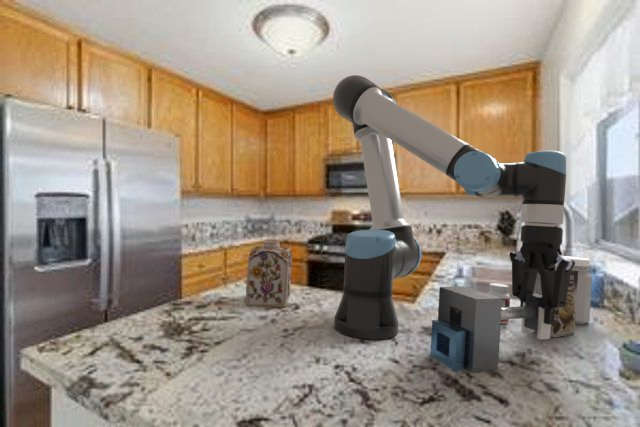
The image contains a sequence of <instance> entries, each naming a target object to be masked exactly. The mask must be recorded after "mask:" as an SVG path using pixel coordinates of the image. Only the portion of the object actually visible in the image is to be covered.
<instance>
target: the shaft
mask: <svg viewBox="0 0 640 427" xmlns="http://www.w3.org/2000/svg"><path fill="white" fill-rule="evenodd" d="M540 305H543V301H542V295H539V294H526V301H525V306H520V305H519V306H510V307H502V308H501V320H507V319H509V320H518V319H519V320H520V319H521V320H522V318H525V319H524V327H527V328H530V329H532V330H535V331H534V332H536V331H538V315H539V307H540Z"/></svg>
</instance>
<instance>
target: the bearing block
mask: <svg viewBox="0 0 640 427" xmlns="http://www.w3.org/2000/svg"><path fill="white" fill-rule="evenodd" d="M487 293H488V292H483V291H480V290H477V289H474V288H470V287H467V286H462V285H460V286H459V285H458V286H456V285H455V286H440V287H439V292H438V294H439V295H438V310H437V312H438V313H437V320H442V321H445V322H447V323H449V324H451V325H453V326H455V327H457V328H459V329H462V330H464V331H466V335H465V353H464V369H465V370H467V371H468V372H470V373H481V372H489V371H495V370H499V359H500V341H501V340H500V339H501V325H502V324H501V308H502V298H500V297H497V296H493V295H490V294H487ZM449 345H450V338H449V337H447V336H445V350H447V351H449Z"/></svg>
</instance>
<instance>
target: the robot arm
mask: <svg viewBox="0 0 640 427" xmlns="http://www.w3.org/2000/svg"><path fill="white" fill-rule="evenodd" d="M332 94H333V95H332V102H333V103H332V104H333V107H334V110H335V111H336V114H338V115H339V116H340V117H341V118H342V119H345V120H346V121H348V122H351V123H352V129H353V137H354V139H355V140H357V141H359V142H360V147H361V152H362V153H361V154H362V159H363V168H364V174H365V179H366V180H365V181H366V186H367V193H368V198H369V206H370V213H371V220H372V225H371V227H370V228H369V229H360V230H359V229H358V230H354V231H352V232H350V233H349V234H347V237H346V239H345V246H344V268H343V269H344V274H343V290H342V291H343V292H342V296H341V299H340V302H339V304H338V307H337V309H336V313H335V315H334V322H333V323H334V324H333V327H334V329H335V330H336V331H337V332H339V333H341V334H343V335H346V336H347V337H352V338H356V339H361V340H386V339H391V338H394V337H395V336H397V335H398V334H399V320H398V316H397V312H396V309H395V305H394V301H393V290H394V287H393V286H394V280H395V279H401V278H406V277H407V276H409V275H411V274H412V273H414V272H415V271H416V270H417V268H418V267H419V265H420V263H421V261H422V253H423V252H422V247H421V245H420V243H419V242H418V240H417V239H416V238H414V235H413V234H414V233H413V228H412V224H411V223H409V222H407V221H406V220H405V214H404V209H403V208H404V207H403V203H402V196H401V190H400V184H399V180H398V179H399V177H398V174H397V172H398V171H397V167H396V166H397V165H396V159H395V154H394V147H393V143H395V144H396V145H398V146H400V148H401V147H402V148H403V149H404V150H406V151H408V152H409V153H411V154H412V155H414V156H416V157H417V158H419V159H420V160H421V161H424V162H425V163H427V164H428V165H430V166H432V167H433V168H434V169H436V170H437V171H439V172H441V173H443V174H445V175H446V176H447V177H449V178H450V179H452V180H453V181H455V182H456V183H458V184H459V185H460V187H462V188H463V189H464V191H465V194H466V195H468V196H469V197H480V198H484V197H498V198H499V197H514V198H516V197H517V198H518V197H520V198H521V197H522V206H521V218H520V221H521V222H522V223H523V224H524V225H521V226H520V237H519V238H520V241H521V242H522V243H521V247H520V250H517V251H511V252H509V259H510V262H511V292H512V293H511V294H512V296H513V297H516V298H518V300H519V301H520V303H519V304H520V305H519V306H525V301H526V294H533V292H534V287H535V282H536V278H537V273H539V274H540V278H541V290H542V301H543V305H540V307H539V315H538V332H536V333H537V336H536V339H537V340H550V339H551V336H550V330H551V324H553V323H554V317H555V309H556V308H560V307H565V306H566V300H567V293H568V286H569V280H570V273H571V270H572V269H573V267H574V265H575V261H574V260H568V259H566V258H565V257H563V256H564V255H563V252H562V250H561V245H562V244H563V235H564V230H563V227H560V225H563V224H564V216H565V215H564V212H565V198H566V195H565V194H566V184H567V157H566V155H565V153H563V152H561V151H557V150H538V151H532V152H528V153H527V154H526V155H525V156H524V160H523V161H520V162H510V163H509V162H505V163H503V162H502V163H501V162H499V161H498V160H497V159H496V157H494V156H493V155H491V154H489V153H487V152H485V151H482V150H480V149H478V148H477V147H475V146H472V145H471V144H469V143H468V142H466V141H464V140H462V139H460V138H459V137H456V136H455V135H453V134H451V133H450V132H448V131H446V130H444V129H442V128H441V127H439V126H437V125H436V124H434V123H432V122H430V121H429V120H426V119H425V118H423V117H421V116H419V115H418V114H416V113H414V112H412V111H410V110H408V109H407V108H405V107H403V106H402V105H399V104H398V103H397V102H396V100H395V98H394V97H393V96H392V95H391V94H390V93H389V92H388V91H387V90H385V89H383V88H381V87H379V85H377V84H376V83H374V82H373V81H371V80H370V79H368V78H366V77H364V76H363V75H349V76H346V77H345V78H343V79H341V80H340V81H339V82H338V84H337V85H336V86H335V88H334V90H333V93H332ZM392 142H393V143H392ZM557 262H558V263H557ZM556 263H557V264H556ZM555 265H556V266H558V267H557V270H556V271H555ZM546 270H547V271H546ZM555 273H556V275H555V279H554V274H555ZM524 319H525V318H521V331H520V332H521V333H522V334H531V333H534V332H535V331H534V330H532V329H530V328H527V327H524Z"/></svg>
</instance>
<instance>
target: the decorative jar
mask: <svg viewBox="0 0 640 427" xmlns="http://www.w3.org/2000/svg"><path fill="white" fill-rule="evenodd" d="M280 244H281V243H280V241H278V240H264V241H263V245H262V246H254V247H252V248H251V249H250V252H249V254H248V257H247V271H246V272H247V273H246V284H245V285H246V286H245V305H246V306H251V307H252V306H253V307H264V308H265V307H268V308H269V307H270V308H286V307H287V305H288V303H289V300H290V297H291V287H292V286H291V281H292V260H293V255H292V250H291V249H290V248H288V247H285V246H281V245H280Z"/></svg>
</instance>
